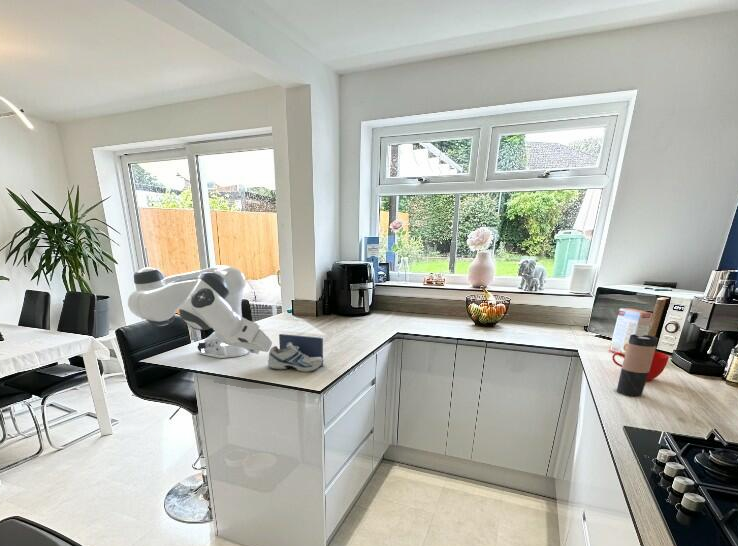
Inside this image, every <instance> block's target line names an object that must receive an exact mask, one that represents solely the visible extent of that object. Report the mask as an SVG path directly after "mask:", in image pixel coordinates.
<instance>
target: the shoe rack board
mask: <svg viewBox="0 0 738 546" xmlns="http://www.w3.org/2000/svg"><path fill="white" fill-rule="evenodd" d="M278 337H279V338H278V340H279V341H278V342H279V349H280V350H283V349H286V345H287V343H289V342H291V343H293V346H298V347H299V350H300V351H301V353H304V354H305V355H306V356H309V357H321V358H323V359H324V338H323V337H317V336H307V335H306V336H305V335H296V334H285V333H280V334H279V335H278ZM296 348H297V347H296ZM323 366H324V362H323V363H322V365H321V366H320V367H319V368H323Z"/></svg>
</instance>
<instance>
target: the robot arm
mask: <svg viewBox="0 0 738 546" xmlns="http://www.w3.org/2000/svg"><path fill="white" fill-rule="evenodd" d="M246 281H247V280H246V277H245V275H244V273H243V272H242V271H241V270H240V269H238V268H237V267H235V266H228V265H215V266H211V267H207V268H202V269H200V270H195V271H191V272H186V273H185V272H184V273H179V274H174V275H170V276H167V277H166V275H164V274H163V272H162V271H161V270H159V269H158V268H155V267H154V268H153V267H143V268H141V269H139V270H137V271H136V272H135V273H134V274H133V284H135V288H136V289H135V291H133V292H132V293H131V294H130V295H129V297H128V299H127V307H128V309H129V310H130V312H131V313H132V314H133V315H135V316H137V317H139V318H141V319H143V320H146V322H148V323H149V324H150V325H152V326H153V327H165V326H168V325H169V324H171V323H173V322H174V320H175V318H176V313H177V312H178V313H179V317H180V318H181V320H182V321H183V322H184V324H185V325H187V326H189V327H190V328H192V329H193V330H196V331H205V330H209V329H212V330H213V332H212V333H211V334H210V335H208V336H207V337H206V338H205V339H204V340H199V342H198V345H197V350H198V354H199V355H204V356H207V357H208V356H209V357H212V358H216V359H226V358H236V357H241V356H245V355H247V354H248V353H249V352H250V353H251V354H255V355H258V354H259V353H260V352H264V353H265V352H266V353H269V352H270V349H271V348H272V346H273V341H272V339H270V337H269V336H268V335H267V334H266V333H265V332H264V331H263V330H262V329H260V325H259V324H258V323H257V322H254V321H251V320H248V319H247V318H245V317H243V313H242V312H243V311H242V301H243V293H244V289H245V286H246Z"/></svg>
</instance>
